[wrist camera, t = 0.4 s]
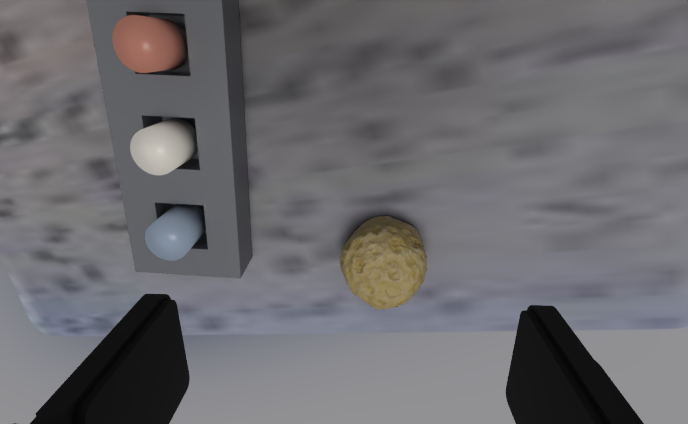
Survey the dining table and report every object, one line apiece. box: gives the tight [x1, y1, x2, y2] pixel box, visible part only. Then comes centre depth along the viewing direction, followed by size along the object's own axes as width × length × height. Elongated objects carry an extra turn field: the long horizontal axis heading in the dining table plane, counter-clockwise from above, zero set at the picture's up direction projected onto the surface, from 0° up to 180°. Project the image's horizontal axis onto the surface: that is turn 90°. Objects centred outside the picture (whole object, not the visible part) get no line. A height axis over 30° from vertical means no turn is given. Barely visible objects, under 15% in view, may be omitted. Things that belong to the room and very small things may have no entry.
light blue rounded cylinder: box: [145, 204, 206, 261], centre depth 42 cm, size 4×4×5 cm
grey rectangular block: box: [86, 0, 252, 278], centre depth 42 cm, size 30×12×5 cm, turn 178°
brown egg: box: [112, 15, 189, 73], centre depth 36 cm, size 4×4×5 cm
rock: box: [340, 216, 427, 310], centre depth 46 cm, size 10×11×10 cm
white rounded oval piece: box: [130, 118, 198, 175], centre depth 39 cm, size 4×4×5 cm
